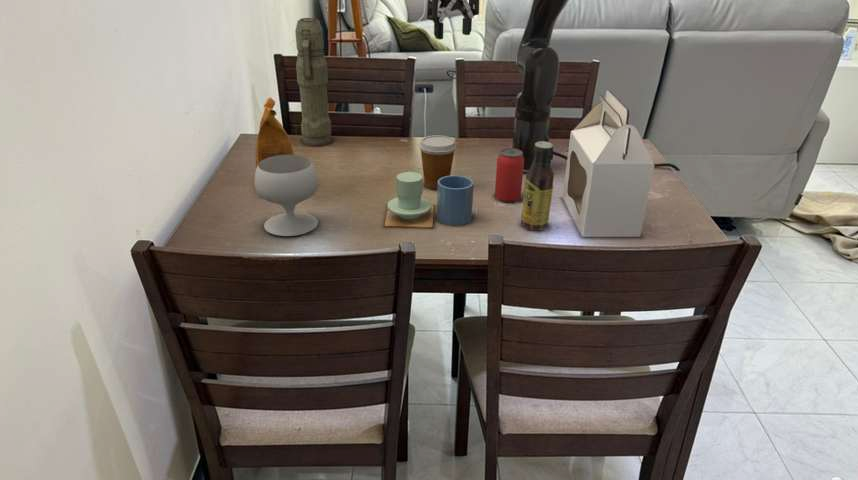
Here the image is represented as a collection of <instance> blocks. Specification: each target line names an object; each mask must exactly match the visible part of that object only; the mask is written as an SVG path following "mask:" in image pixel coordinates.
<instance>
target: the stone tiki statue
mask: <svg viewBox="0 0 858 480" xmlns="http://www.w3.org/2000/svg"><path fill="white" fill-rule="evenodd" d="M294 33H295V44H296V50H297V55H296V57H297V59H296V64H295V69H296V81H297V84H298V87H299V96H300V97H299V98H300V110H301V118H302V119H301V121H300V128H301V129H300V131H301V135H302V143H303V144H304V145H306V146H311V147H319V146H320V147H321V146H325V145H329V144H330V143H332V122H331V121H332V120H331V119H330V115H329V101H328V83H329V75H328V74H329V73H328V63H327V60H326V57H325V52H324V48H325V45H324V44H325V43H324V31H323V26H322V24H321V22H320V20H319V19H317V18H314V17H304V18H299V19H298V20H297V22H296V26H295V32H294Z"/></svg>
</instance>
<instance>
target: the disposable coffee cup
mask: <svg viewBox="0 0 858 480" xmlns="http://www.w3.org/2000/svg"><path fill="white" fill-rule="evenodd" d="M418 148H419V150H420V155H421V164H422V171H423V172H422V173H423V181H424V186H425V187H426V188H427V189H430V190H438V180H439V179H440V178H442V177H445V176H451V174H452V168H453V162H454V154H455V151H456V148H457V144H456V141H455V139H454V138H453V137H450V136H447V135H437V134H436V135H435V134H433V135H428V136H424V137H423V138H421V139H420V142H419V144H418Z"/></svg>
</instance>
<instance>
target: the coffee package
mask: <svg viewBox="0 0 858 480" xmlns="http://www.w3.org/2000/svg"><path fill="white" fill-rule="evenodd" d="M275 105H276V101H275V100H274V99H273V98H272V97H267V99H266V101H265V103H264V104H263V107H264V110H263V113H262V117H261V119H260V123H259V129H258V134H257V139H256V145H255V156H254V157H255V159H254V160H255V169H256V168H257V166H258V164H259V163H260V162H261V161H262V160H264V159H266V158H269V157H272V156H278V155H295V154H294V151H293V147H292V143H291V139H290V137H289V135H288V132H287V131H286V129H285V128H284V126H283V125H282V123H281V122H280V121H279V120H278V119H277V118H276V116H277V112H276V110H275V109H274V107H275Z"/></svg>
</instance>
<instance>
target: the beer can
mask: <svg viewBox="0 0 858 480" xmlns="http://www.w3.org/2000/svg"><path fill="white" fill-rule="evenodd" d="M523 168H524V157H523V152H522V151H521V150H518V149H514V148H512V147H507V148H503V149H501V150H499V154H498V156H497V160H496V171H495V184H494V185H495V186H494V196H495V198H496V199H497V200H499V201H501V202H505V203H513V202H516V201H519V200H520V199H521V198H522V189H523V188H522V187H523V176H524V173H523Z"/></svg>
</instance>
